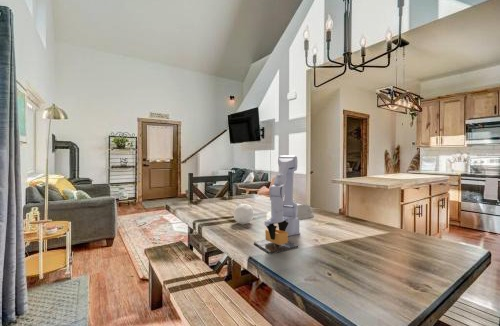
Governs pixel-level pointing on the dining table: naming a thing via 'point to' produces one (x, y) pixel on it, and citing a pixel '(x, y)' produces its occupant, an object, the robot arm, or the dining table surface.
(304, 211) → the grey stone
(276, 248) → the keeper plate
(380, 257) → the dining table surface
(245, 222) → the geodesic sphere
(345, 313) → the dining table surface
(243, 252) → the dining table surface
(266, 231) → the orange hollow rectangular block
